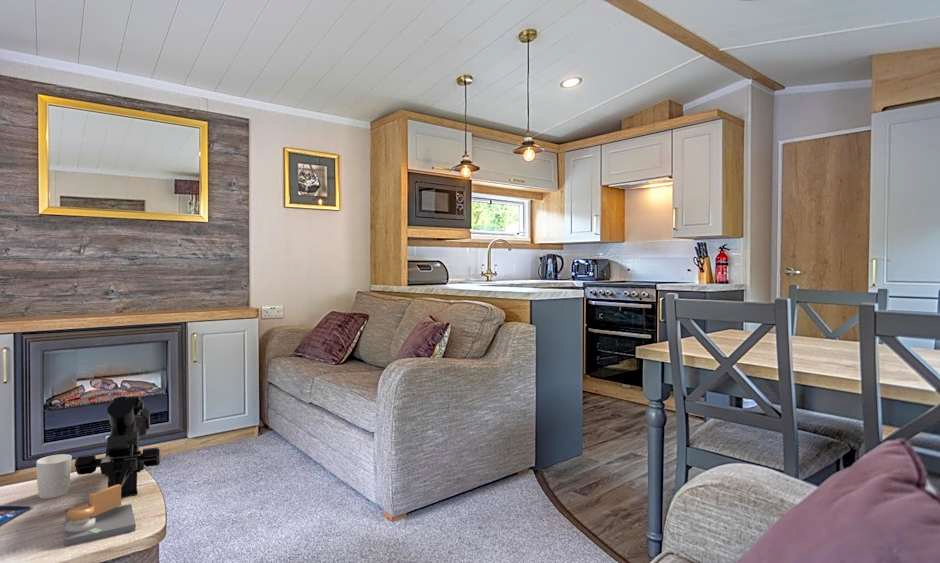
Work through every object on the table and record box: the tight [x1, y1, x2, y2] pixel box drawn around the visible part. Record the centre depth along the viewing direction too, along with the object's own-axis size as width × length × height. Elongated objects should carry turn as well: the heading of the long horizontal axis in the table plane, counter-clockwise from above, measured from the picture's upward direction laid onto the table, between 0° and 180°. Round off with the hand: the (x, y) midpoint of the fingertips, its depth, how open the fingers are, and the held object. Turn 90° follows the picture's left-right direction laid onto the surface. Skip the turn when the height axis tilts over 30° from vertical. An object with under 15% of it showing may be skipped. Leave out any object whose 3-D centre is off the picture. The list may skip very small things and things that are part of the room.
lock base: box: [64, 503, 137, 547], centre depth 130 cm, size 14×14×4 cm
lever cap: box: [66, 484, 122, 520], centre depth 129 cm, size 12×5×5 cm, turn 159°
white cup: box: [35, 453, 73, 500], centre depth 148 cm, size 8×8×10 cm
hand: (115, 491), depth 135 cm, fingers closed
